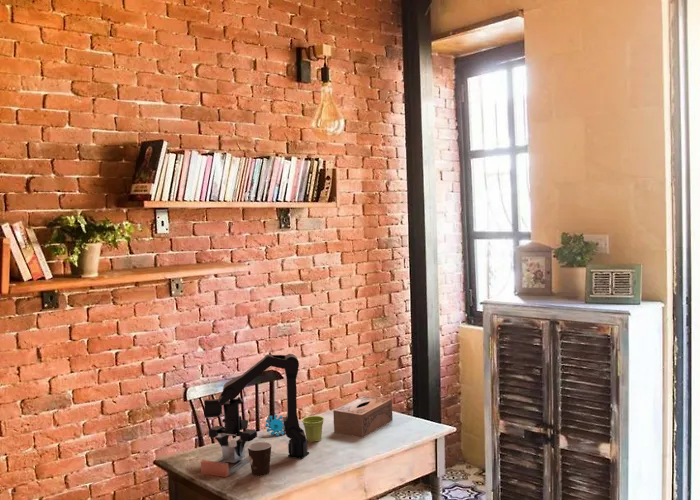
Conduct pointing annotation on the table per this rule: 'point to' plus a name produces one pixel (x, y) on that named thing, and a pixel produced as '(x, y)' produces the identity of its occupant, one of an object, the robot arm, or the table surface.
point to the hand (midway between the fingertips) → (233, 455)
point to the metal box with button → (231, 452)
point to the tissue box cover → (362, 416)
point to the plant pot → (313, 428)
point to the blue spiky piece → (275, 425)
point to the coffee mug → (260, 458)
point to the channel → (220, 467)
